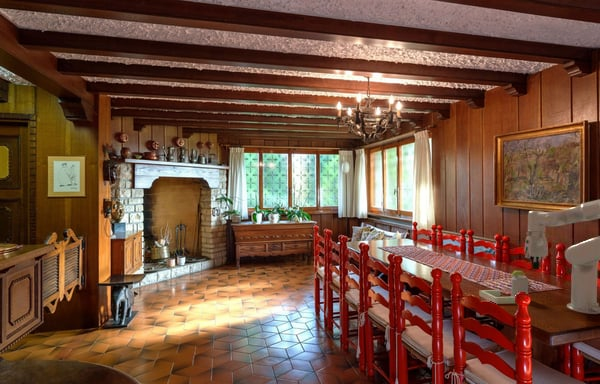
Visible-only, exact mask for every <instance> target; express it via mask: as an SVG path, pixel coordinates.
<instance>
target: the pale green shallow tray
mask: <svg viewBox="0 0 600 384" xmlns="http://www.w3.org/2000/svg"><path fill="white" fill-rule="evenodd" d="M478 291H479V292H478V293H479V297H481V298H482V299H484V300H487V301H488V302H490V301H492V302H494V303H496V304H495V305H498V304H499V305H500V304H516V302H515V297H514V296H511V295H510V296H501V291H502V290H500V289H484V290H483V289H482V290H480V289H479V290H478ZM492 302H491V303H492ZM494 303H493V304H494Z"/></svg>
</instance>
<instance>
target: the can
mask: <svg viewBox="0 0 600 384" xmlns="http://www.w3.org/2000/svg"><path fill="white" fill-rule="evenodd" d="M510 280H511V281H510V282H511V283H510V284H511V285H510V287H511V289H510V290H511V291H510V297H511V296H514V297H515V295H516V294H517V293H519V292H525V293H526V294H528V295H529V285H528V280H529V279H528V277H527V276H526V275H525V276H522V275H513V277H511V279H510Z"/></svg>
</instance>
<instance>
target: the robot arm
mask: <svg viewBox="0 0 600 384" xmlns="http://www.w3.org/2000/svg"><path fill="white" fill-rule="evenodd" d="M598 219H600V199H596V200H590V201H587V202H583V203H580V204H579V205H577V206H574V207H570V208H566V209H561V210H553V211H542V210H530V211H528V215H527V231H526V232H525V234H526V235H527V236H526V238H525V241H524V255H525V256H524V258H526V259H528V260H530V262H531V269H532V270H535V271H539V270H540V263H541V261H542V259H546V258H547V256H548V255H549V247H548V245H549V244H548V243H549V242H548V239H547V237H546V227H550V228H551V227H554V228H555V227H559V226H565V225H568V224H569V225H570V224H575V223H579V222H589V221H594V220H598ZM564 258H565V260H566V261H567V262H568V264H571V283H570V285H571V286H570V287H571V289H570V290H571V291H570V292H571V293H570V302H569V303H567V304H566V308H568V310H571V311H573V312H577V313H581V314H589V315H599V314H600V306H599V305H600V303H599V302H597V301H598V299H597V297H598V293H597V291H598V290H597V289H598V268H599V263H600V262H599V261H600V235H598V236H595V237H592V238H590V239H587V240H584V241H581V242H579V243H575V244H573V245H571V246H569V247H568V248H566V250H565V251H564Z"/></svg>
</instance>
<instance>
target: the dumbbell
mask: <svg viewBox="0 0 600 384" xmlns="http://www.w3.org/2000/svg"><path fill="white" fill-rule="evenodd" d="M513 275H522V276H526V274H525V272H524V271H522V270H514V271H513V272H512V273H511V275H510V276H511V278H512V277H513ZM529 285H530V281H529V279H528V286H529Z"/></svg>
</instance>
